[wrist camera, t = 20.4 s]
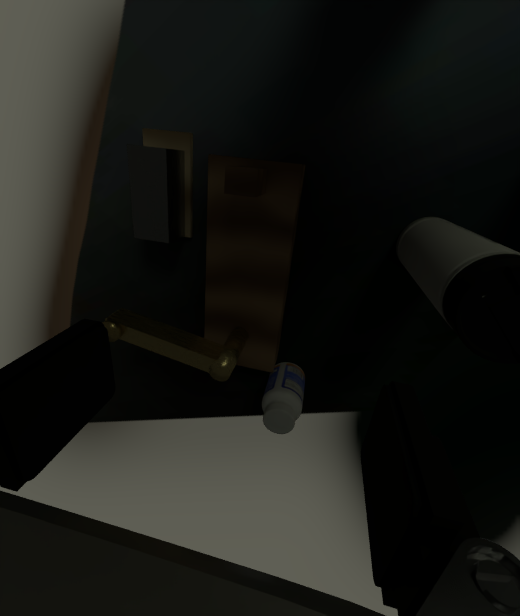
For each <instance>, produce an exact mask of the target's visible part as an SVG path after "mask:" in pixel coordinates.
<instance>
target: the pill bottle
mask: <svg viewBox="0 0 520 616" xmlns="http://www.w3.org/2000/svg"><path fill="white" fill-rule="evenodd" d="M304 388H305V374H304V372H303V370H302V369H301V368H300V367H299V366H298V365H296V364H293V363H290V362H282V363H279V364H277V365H275V367H274V371H273V373H272V372H270V375H269V379H268V382H267V385H266V389H265V392H264V396H263V399H262V409H263V412H264V415H263V422H264V425H265V426H266V427H267V429H269V430H270V431H272V432H274V433H277V434H285V433H288V432H290V431H291V430H292V429H293V427H294V424H295V420H297V418H299V416H300V414H301V411H302V405H303V397H304Z"/></svg>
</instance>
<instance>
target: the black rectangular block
mask: <svg viewBox="0 0 520 616" xmlns="http://www.w3.org/2000/svg"><path fill="white" fill-rule="evenodd" d="M127 153H128V166H129V178H130V191H131V204H132V217H133V229H134V238H138V239H145V240H151V241H158V242H164V243H171V242H173V241H175V240H177V239H179V238H182V237H184V236H185V151H182V150H174V149H167V148H158V147H148V146H139V145H130V144H127Z"/></svg>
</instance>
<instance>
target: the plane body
mask: <svg viewBox="0 0 520 616" xmlns="http://www.w3.org/2000/svg"><path fill="white" fill-rule="evenodd" d="M305 166H306V165H304V164H295V163H286V162H276V161H267V160H258V159H248V158H239V157H230V156H220V155H211V154H209V157H208V201H207V246H206V290H205V334H204V338H205V339H208V340H211V341H213V342H216V343H219V344H221V345H224V343H225V341H226V340H227V338H228V336H229V335H230V333H231V332H232V330H233V329H234V328H236V327H241V328H244V329H245V330H246V331H247V332H248V334H249V338H248V340H247V342H246V345H245V347H244V349H243V351H242V353H241V355H240V357H239V359H238V361H237V363H236V365H239V366H243V367H248V368H253V369H258V370H262V371H267V372H272V373H273V371H274V367H275V364H276V360H277V357H278V350H279V343H280V336H281V329H282V323H283V316H284V309H285V302H286V295H287V289H288V282H289V275H290V268H291V261H292V255H293V248H294V241H295V234H296V227H297V221H298V214H299V207H300V200H301V193H302V187H303V180H304V173H305Z"/></svg>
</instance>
